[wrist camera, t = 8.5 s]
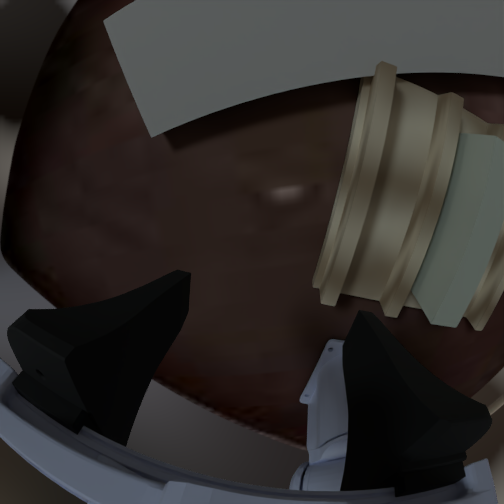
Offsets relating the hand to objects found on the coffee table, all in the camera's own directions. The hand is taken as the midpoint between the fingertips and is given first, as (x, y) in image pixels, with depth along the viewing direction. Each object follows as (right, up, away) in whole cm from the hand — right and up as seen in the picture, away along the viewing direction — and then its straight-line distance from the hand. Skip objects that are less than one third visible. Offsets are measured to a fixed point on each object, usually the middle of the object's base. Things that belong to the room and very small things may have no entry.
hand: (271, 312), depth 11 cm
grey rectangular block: (+7, +19, +2) cm, 21 cm away
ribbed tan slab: (+13, +6, +6) cm, 16 cm away
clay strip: (+13, +5, +5) cm, 15 cm away
